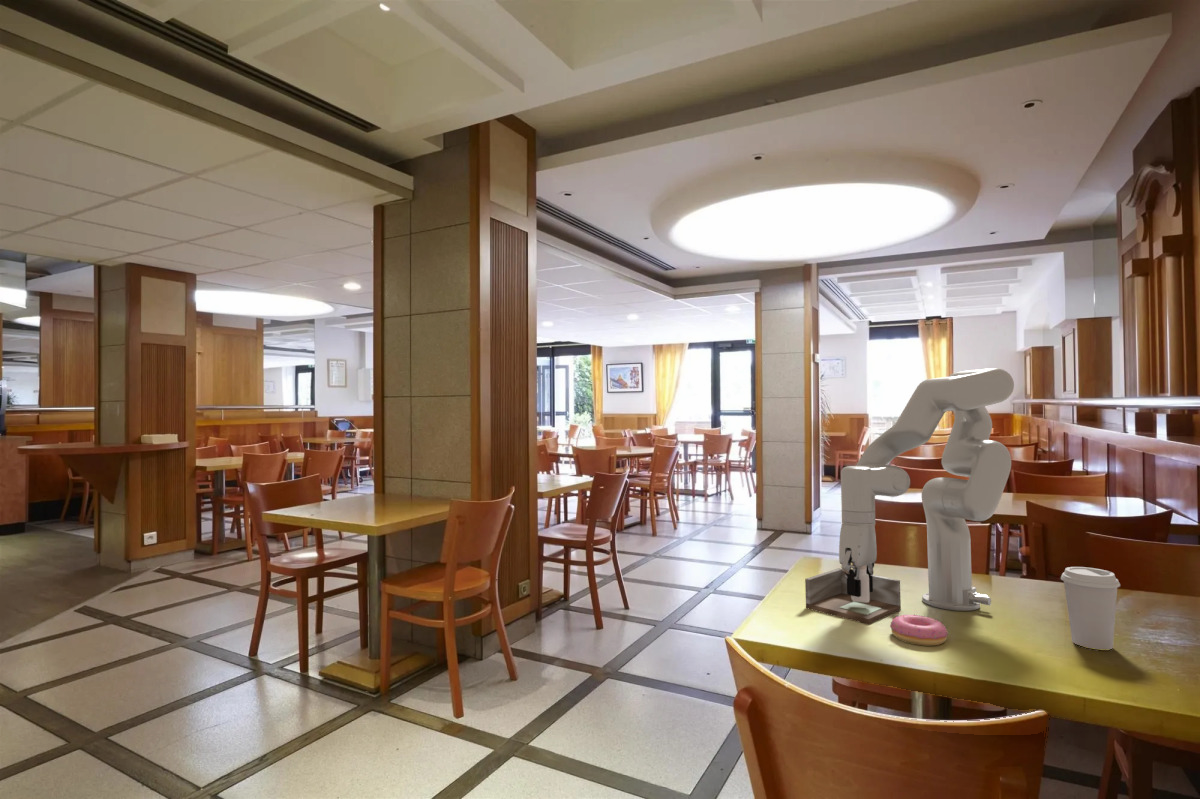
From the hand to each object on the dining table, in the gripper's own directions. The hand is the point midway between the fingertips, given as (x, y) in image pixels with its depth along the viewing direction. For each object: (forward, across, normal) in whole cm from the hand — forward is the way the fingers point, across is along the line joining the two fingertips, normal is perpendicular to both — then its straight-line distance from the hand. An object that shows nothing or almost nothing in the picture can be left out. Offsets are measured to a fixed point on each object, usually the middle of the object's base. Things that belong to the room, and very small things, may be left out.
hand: (860, 592), depth 146 cm
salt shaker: (+2, 0, 0) cm, 2 cm away
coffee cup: (+5, -16, +41) cm, 44 cm away
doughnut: (+6, +6, +16) cm, 18 cm away
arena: (+5, -2, -3) cm, 6 cm away
